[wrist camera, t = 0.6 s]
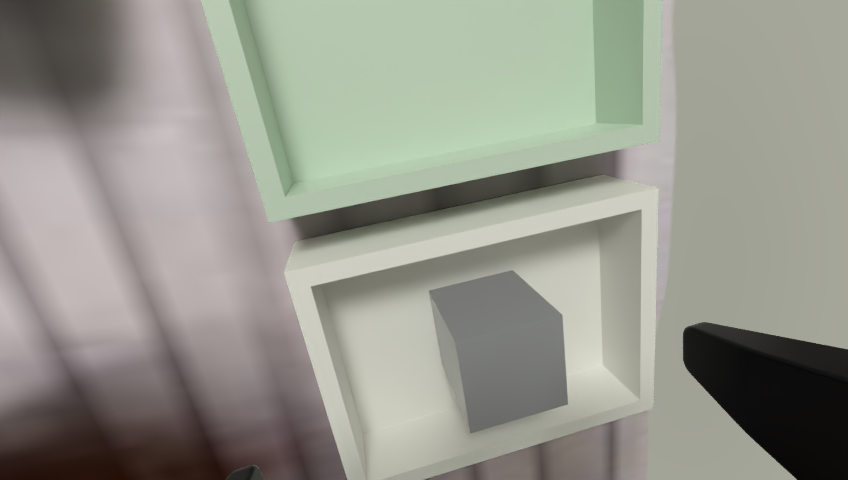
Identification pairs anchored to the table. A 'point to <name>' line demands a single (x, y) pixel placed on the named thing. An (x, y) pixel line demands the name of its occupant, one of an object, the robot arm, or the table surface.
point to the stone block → (500, 349)
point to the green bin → (430, 90)
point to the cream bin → (463, 261)
